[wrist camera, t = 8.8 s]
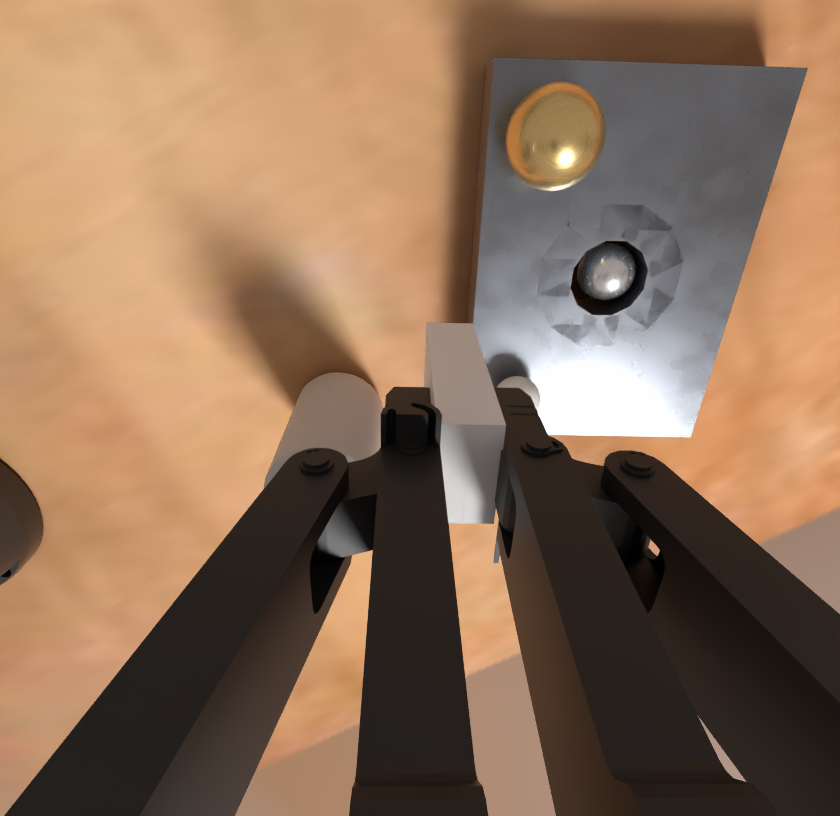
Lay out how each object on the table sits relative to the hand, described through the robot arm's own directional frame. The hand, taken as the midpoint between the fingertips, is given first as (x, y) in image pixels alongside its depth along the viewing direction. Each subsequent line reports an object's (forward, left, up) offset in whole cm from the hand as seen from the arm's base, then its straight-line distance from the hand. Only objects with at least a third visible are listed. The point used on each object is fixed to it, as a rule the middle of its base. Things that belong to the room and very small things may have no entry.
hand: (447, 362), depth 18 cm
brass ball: (+6, +6, -13) cm, 16 cm away
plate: (+11, -1, -19) cm, 22 cm away
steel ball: (+11, -1, -17) cm, 21 cm away
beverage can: (-6, -12, -19) cm, 24 cm away
